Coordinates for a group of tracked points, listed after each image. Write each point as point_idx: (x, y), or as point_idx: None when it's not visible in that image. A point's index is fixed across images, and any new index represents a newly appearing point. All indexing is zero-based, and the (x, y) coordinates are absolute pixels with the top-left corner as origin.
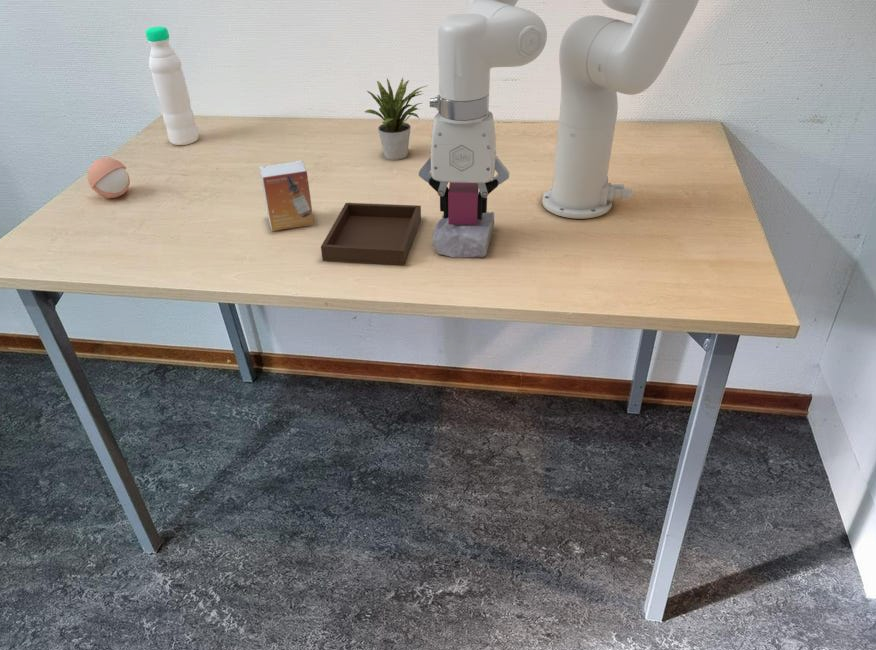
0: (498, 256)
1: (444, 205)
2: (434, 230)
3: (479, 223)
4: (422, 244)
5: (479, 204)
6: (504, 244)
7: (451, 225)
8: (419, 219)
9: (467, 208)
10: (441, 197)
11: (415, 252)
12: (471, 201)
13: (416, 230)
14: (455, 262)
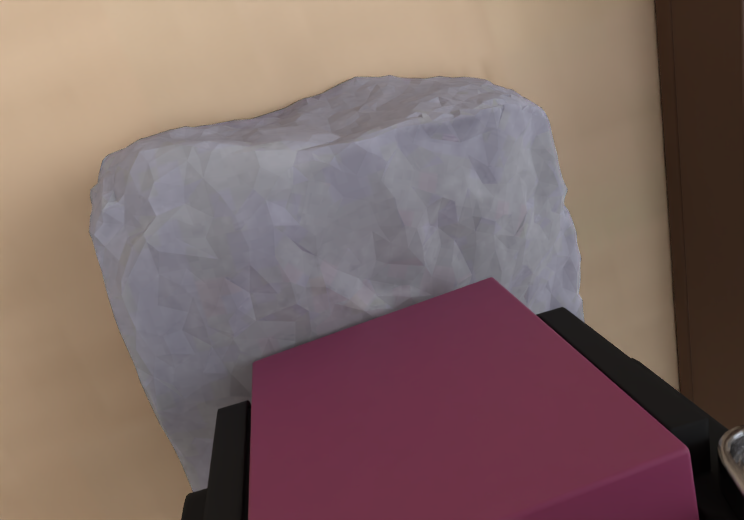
0: (48, 216)
1: (626, 364)
2: (578, 276)
3: None
4: (602, 184)
5: (230, 509)
6: (87, 381)
7: None
8: None
9: (361, 418)
10: (717, 440)
11: (618, 65)
12: (326, 492)
13: (682, 312)
14: (310, 22)
